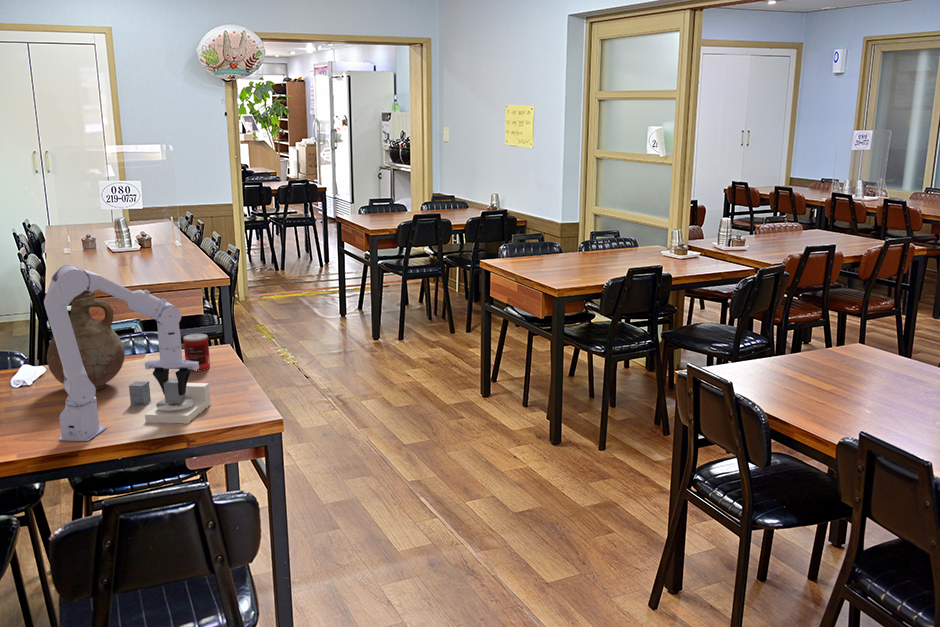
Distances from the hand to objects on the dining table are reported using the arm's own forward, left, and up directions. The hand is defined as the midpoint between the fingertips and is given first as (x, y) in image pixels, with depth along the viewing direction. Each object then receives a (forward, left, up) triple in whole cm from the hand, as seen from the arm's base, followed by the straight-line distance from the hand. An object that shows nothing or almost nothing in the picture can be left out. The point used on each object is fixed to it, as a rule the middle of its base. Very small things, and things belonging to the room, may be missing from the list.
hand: (174, 394), depth 219 cm
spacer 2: (0, 0, -2) cm, 2 cm away
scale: (+2, 0, -6) cm, 6 cm away
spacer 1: (+9, +15, -6) cm, 19 cm away
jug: (+22, +38, -6) cm, 44 cm away
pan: (0, 0, -3) cm, 3 cm away
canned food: (+44, +13, -6) cm, 46 cm away
